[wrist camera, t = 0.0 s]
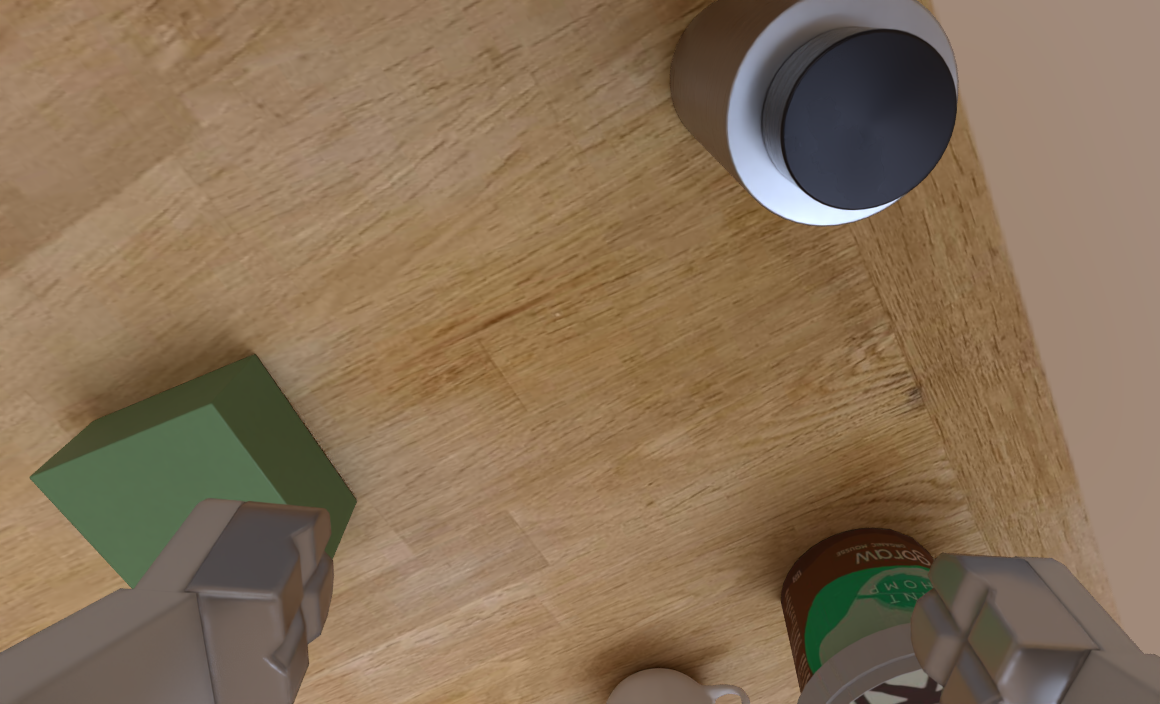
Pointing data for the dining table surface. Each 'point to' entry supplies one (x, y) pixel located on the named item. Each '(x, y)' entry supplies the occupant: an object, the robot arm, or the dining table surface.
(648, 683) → the teacup
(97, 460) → the green block
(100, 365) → the dining table surface
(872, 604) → the food container
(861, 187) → the flask
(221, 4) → the dining table surface
